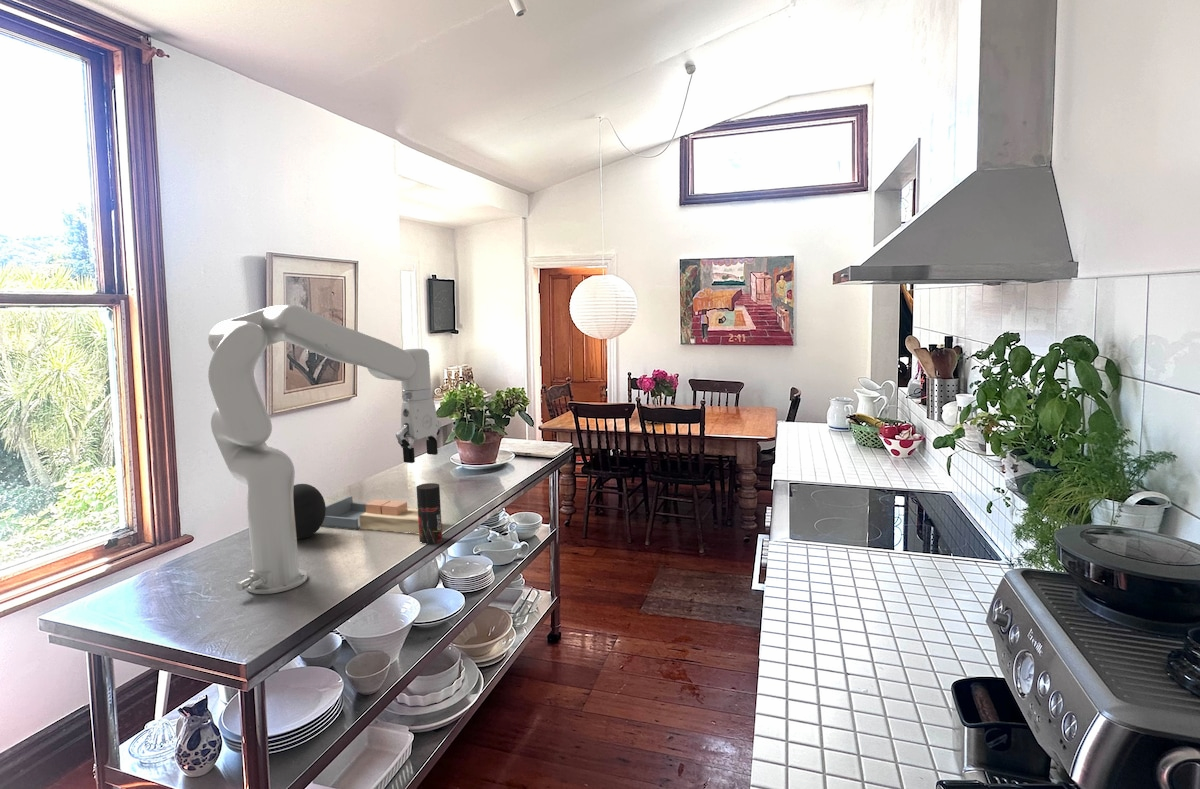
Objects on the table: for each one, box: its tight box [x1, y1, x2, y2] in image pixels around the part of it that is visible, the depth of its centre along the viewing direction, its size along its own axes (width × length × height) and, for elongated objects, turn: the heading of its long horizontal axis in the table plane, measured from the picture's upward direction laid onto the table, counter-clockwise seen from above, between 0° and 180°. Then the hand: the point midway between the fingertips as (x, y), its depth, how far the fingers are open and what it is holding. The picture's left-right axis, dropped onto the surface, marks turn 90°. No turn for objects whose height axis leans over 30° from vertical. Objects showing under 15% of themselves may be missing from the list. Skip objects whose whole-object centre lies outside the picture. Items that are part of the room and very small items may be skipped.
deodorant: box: [416, 482, 443, 545], centre depth 176 cm, size 6×6×15 cm
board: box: [359, 506, 419, 533], centre depth 189 cm, size 10×20×4 cm, turn 72°
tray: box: [321, 495, 367, 530], centre depth 195 cm, size 14×13×5 cm
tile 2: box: [382, 500, 408, 515], centre depth 189 cm, size 5×5×2 cm
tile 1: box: [365, 498, 392, 514], centre depth 191 cm, size 5×5×2 cm
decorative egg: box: [293, 483, 327, 539], centre depth 181 cm, size 12×12×15 cm
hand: (421, 458), depth 177 cm, fingers open, 9 cm apart
